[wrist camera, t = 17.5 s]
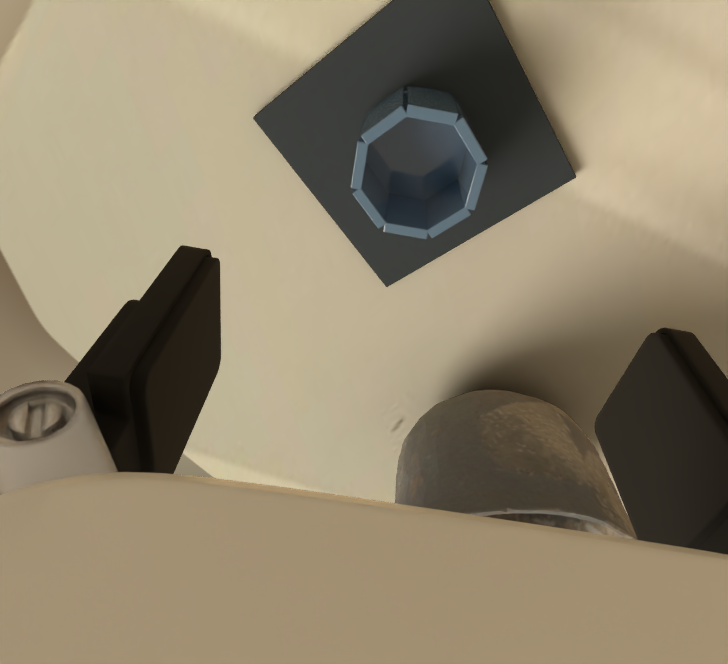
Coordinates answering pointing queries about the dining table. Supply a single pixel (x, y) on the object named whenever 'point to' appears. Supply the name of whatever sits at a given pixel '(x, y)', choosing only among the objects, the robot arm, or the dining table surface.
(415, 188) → the bowl small
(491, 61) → the mat
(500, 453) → the bowl
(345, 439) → the dining table surface
